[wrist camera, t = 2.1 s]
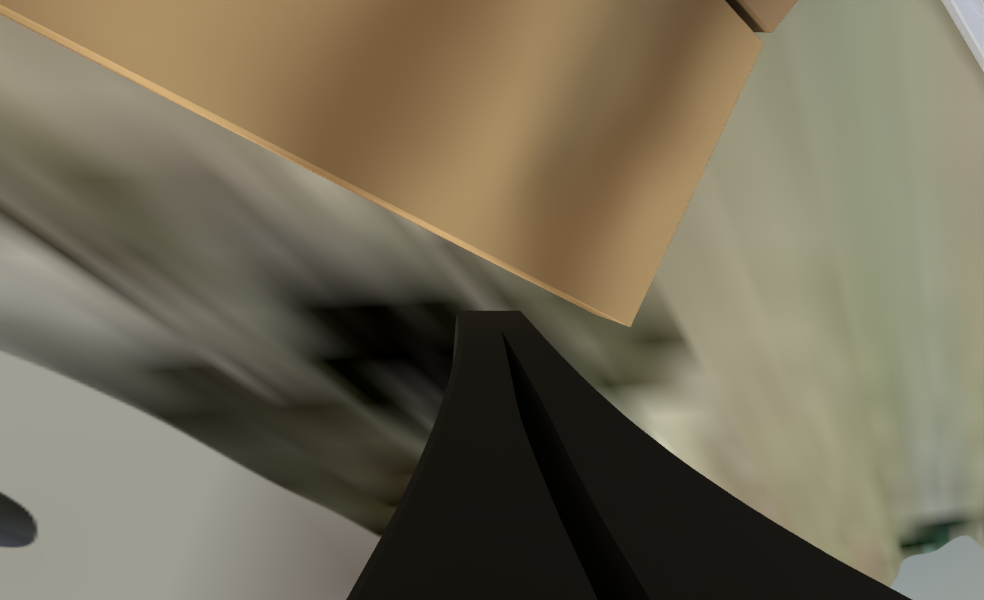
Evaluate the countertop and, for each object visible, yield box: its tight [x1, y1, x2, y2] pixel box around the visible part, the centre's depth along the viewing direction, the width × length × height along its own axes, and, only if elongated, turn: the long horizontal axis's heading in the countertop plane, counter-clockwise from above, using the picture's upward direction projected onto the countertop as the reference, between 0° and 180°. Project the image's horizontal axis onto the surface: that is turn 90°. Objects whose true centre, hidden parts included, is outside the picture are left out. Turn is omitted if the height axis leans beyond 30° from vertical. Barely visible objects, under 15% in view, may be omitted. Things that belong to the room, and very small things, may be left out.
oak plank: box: [0, 0, 764, 327], centre depth 11 cm, size 18×10×2 cm, turn 57°
